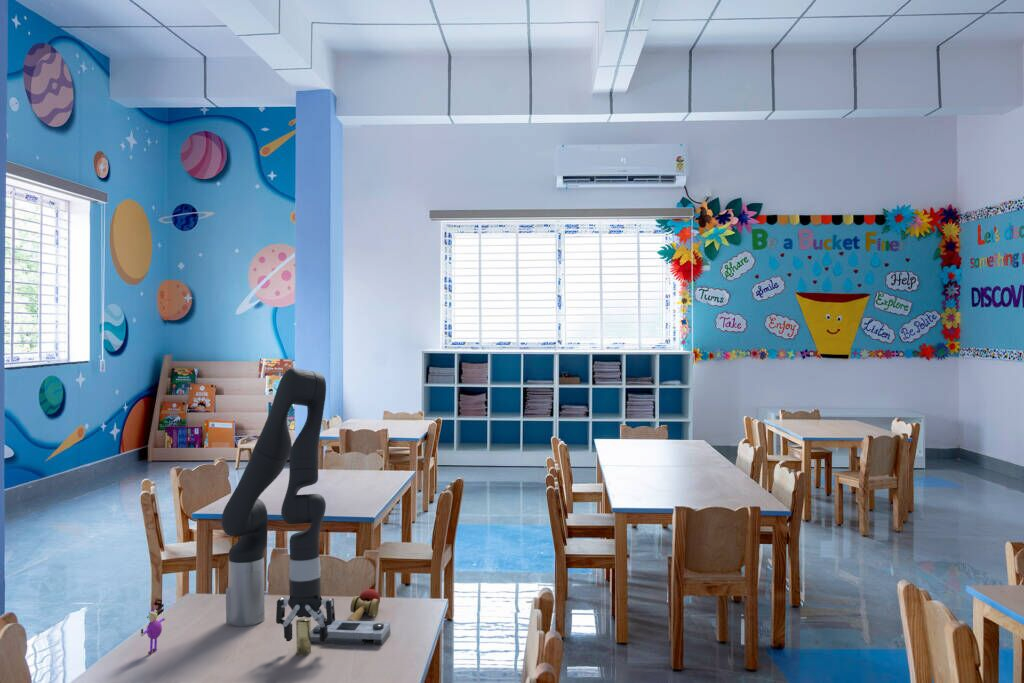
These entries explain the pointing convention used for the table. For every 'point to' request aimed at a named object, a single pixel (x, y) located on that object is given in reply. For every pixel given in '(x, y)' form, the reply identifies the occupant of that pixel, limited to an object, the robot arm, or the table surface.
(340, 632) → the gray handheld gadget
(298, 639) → the brass pin
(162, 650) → the table surface
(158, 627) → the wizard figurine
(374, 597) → the kendama
